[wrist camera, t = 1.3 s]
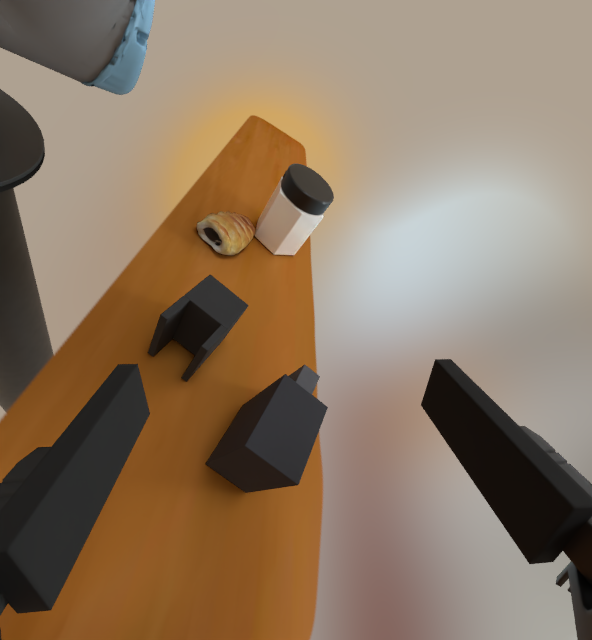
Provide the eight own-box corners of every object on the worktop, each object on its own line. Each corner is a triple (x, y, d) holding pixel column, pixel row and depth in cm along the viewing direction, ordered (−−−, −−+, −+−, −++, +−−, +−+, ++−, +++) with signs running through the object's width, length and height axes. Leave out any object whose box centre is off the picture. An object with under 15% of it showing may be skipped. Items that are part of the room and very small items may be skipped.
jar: (286, 223, 55) (322, 170, 46) (303, 256, 52) (344, 206, 44) (246, 218, 49) (278, 156, 41) (262, 255, 47) (300, 197, 38)
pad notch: (186, 382, 30) (207, 350, 24) (147, 353, 30) (160, 314, 24) (223, 339, 35) (248, 305, 29) (190, 313, 34) (210, 274, 29)
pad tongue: (246, 493, 28) (298, 485, 21) (205, 464, 27) (244, 445, 20) (287, 409, 35) (337, 382, 28) (255, 384, 34) (298, 350, 27)
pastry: (233, 215, 48) (241, 197, 45) (261, 243, 48) (271, 227, 45) (190, 230, 41) (197, 210, 38) (223, 263, 41) (232, 246, 39)
